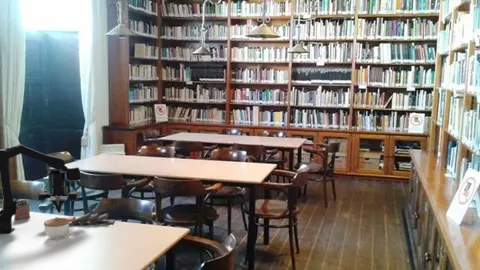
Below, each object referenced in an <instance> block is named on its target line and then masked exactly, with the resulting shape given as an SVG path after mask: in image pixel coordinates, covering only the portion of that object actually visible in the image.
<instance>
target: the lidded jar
mask: <svg viewBox="0 0 480 270" xmlns="http://www.w3.org/2000/svg"><path fill="white" fill-rule="evenodd" d="M66 218H67V217H55V218H49V219H46V220H45V221H44V222H43V226H44V232H45V235H46V236H47V237H48V238H49V239H51V240H62V239H64V238H65V236H66V235H67V233H68V232H69V229H70V228H69V227H70V222H69V219H66Z"/></svg>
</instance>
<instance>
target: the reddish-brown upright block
mask: <svg viewBox="0 0 480 270" xmlns="http://www.w3.org/2000/svg"><path fill="white" fill-rule="evenodd" d="M16 201H17V204H16V205H17V208H18V209H16V213H15V214H14V215H13V217H14V218H13V220H14V221H21V220H26V219H29V218H31V215H30V213H31V212H30V211H31V210H30V205H31V204H30V203H29V202H28V199H20V200H16Z"/></svg>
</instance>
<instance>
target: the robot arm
mask: <svg viewBox="0 0 480 270" xmlns="http://www.w3.org/2000/svg"><path fill="white" fill-rule="evenodd" d="M18 155H25V156H27V157H30V158H32V159H35V160H37V161H40V162H42V163H44V164H46V165H47V166H50V167H51V169H50V170H49V171H48V172H47V174H48V175H49V176H50V175H51V177H52V178H51V181H52V183H51V188H52V193H51V194H50V192H45V191H44V192H40V193H39V194H38V196H37V200H38V201H45V200H46V199H49V202H50V203H52V204H53V206H54V207H55V208H56V211H57V213H61V212H62V209H63V206H64V203H65V202H66V201H67V200H68V199H69V200H78V199H79V198H80V193H79V192H78V191H70V192H68V189H69V188H68V186H66V183H65V181H67V182H76V181H81V173H80V167H78V166H75V167H70V168H68V167H67V165H65V164H66V163H65V160H64V159H63V158H61V157H59V156H55V155H49V154H45V153H43V152H40V151H37V150H35V149H33V148H31V147H27V146H25V145H24V144H17V145H15V146H11V147H9V148H5V149H4V148H0V182H1V190H2V203H1V205H2V208H1V209H0V234H11V233H12V232H13V231H15V229H16V228H15V227H13V225H12V224H13V223H12V221H13V219H12V217H14V214H15V213H16V209H18V208H17V205H18V204H17V201H18V200H17V199H16V198H13V195H12V187H11V181H10V173H9V166H10V165H9V164H10V159H12V158H13V157H16V156H18ZM52 168H53V169H54V170H53V169H52Z"/></svg>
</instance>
